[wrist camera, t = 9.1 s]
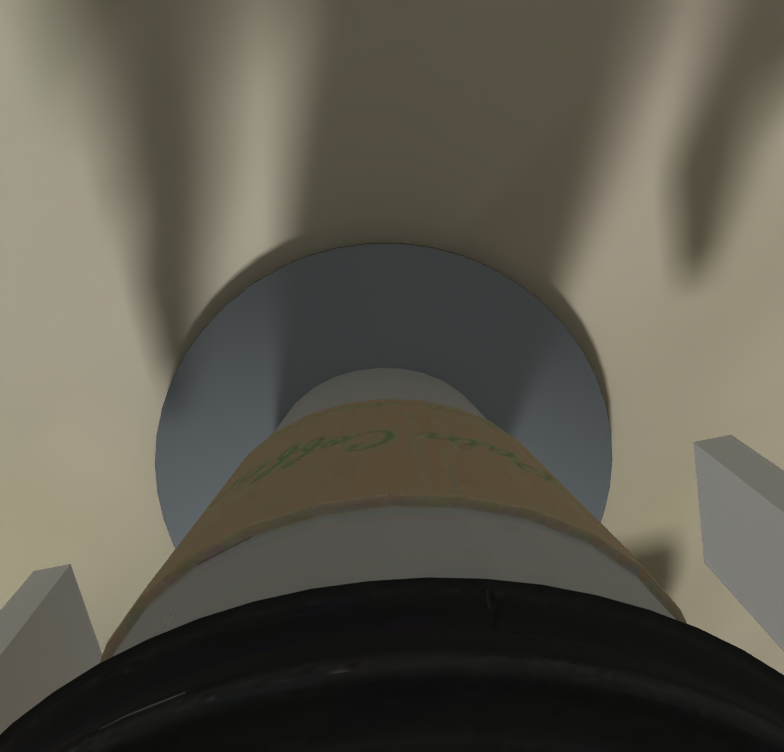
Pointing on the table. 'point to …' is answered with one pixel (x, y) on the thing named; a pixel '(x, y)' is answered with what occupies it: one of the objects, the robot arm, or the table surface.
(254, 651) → the coffee cup
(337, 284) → the coaster
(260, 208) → the table surface
